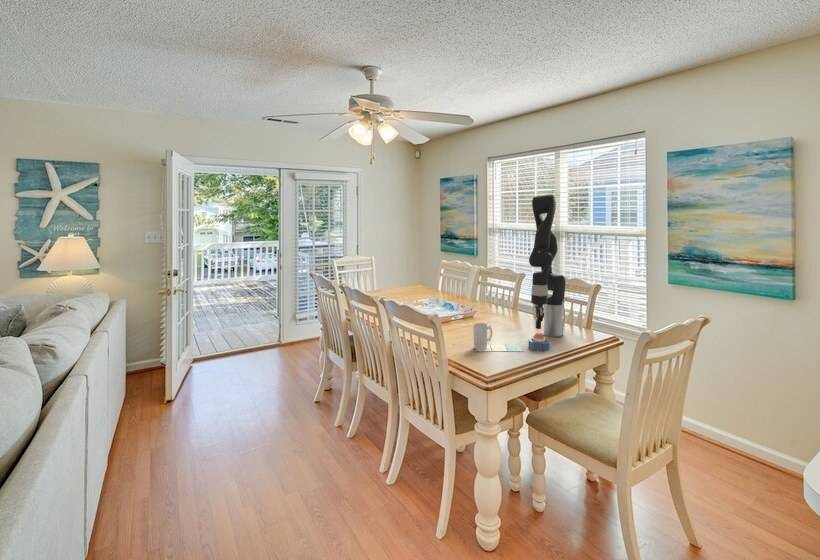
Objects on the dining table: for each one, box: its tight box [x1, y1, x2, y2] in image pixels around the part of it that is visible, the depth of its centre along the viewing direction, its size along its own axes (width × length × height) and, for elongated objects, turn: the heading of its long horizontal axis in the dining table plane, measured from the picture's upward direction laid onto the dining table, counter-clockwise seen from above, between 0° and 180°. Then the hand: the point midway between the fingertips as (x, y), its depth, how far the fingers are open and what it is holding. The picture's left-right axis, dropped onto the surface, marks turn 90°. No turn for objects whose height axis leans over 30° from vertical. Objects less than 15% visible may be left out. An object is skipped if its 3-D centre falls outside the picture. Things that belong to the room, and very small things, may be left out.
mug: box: [473, 322, 493, 350], centre depth 209 cm, size 10×7×12 cm, turn 109°
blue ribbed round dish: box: [527, 337, 550, 352], centre depth 208 cm, size 10×10×4 cm
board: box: [475, 343, 525, 353], centre depth 210 cm, size 22×11×1 cm, turn 85°
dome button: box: [532, 332, 547, 343], centre depth 207 cm, size 6×6×5 cm
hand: (538, 328), depth 207 cm, fingers closed
